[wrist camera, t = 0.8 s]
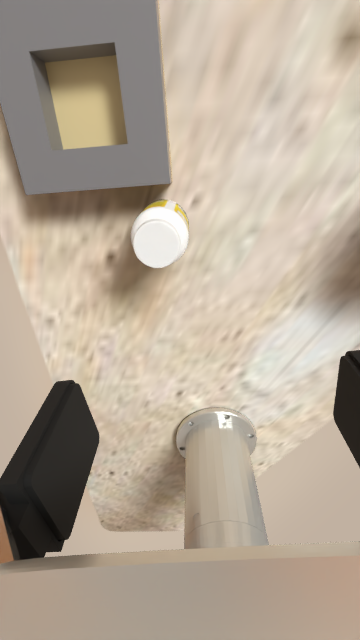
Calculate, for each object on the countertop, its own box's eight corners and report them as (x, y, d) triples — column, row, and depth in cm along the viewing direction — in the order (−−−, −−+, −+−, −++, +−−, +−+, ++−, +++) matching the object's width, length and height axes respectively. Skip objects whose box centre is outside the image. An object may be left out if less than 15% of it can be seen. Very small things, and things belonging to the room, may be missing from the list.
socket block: (172, 181, 32) (170, 183, 29) (43, 191, 33) (25, 194, 29) (158, 1, 26) (153, -25, 22) (0, 19, 27) (-30, -4, 23)
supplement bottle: (134, 237, 35) (115, 261, 26) (150, 190, 33) (136, 199, 24) (177, 256, 36) (173, 285, 27) (196, 211, 33) (199, 227, 25)
